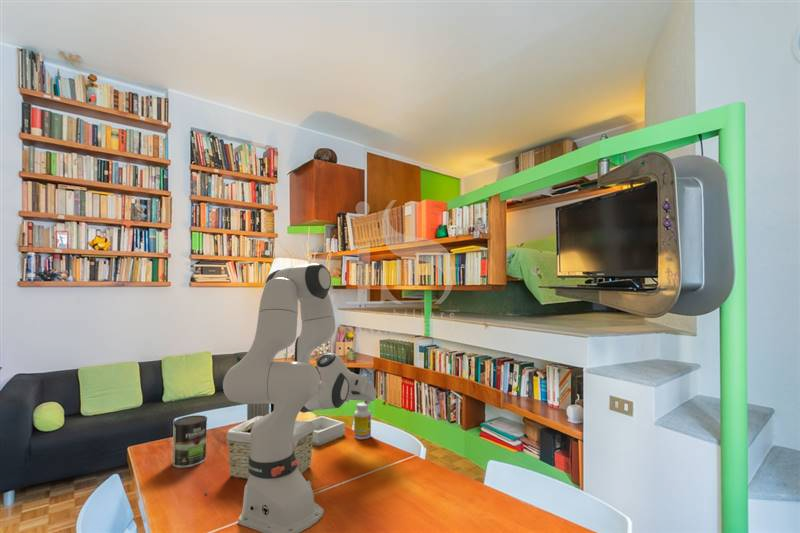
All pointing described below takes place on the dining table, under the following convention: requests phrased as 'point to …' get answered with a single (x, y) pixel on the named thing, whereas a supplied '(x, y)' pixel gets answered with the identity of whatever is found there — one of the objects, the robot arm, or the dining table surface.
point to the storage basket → (242, 445)
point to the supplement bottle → (362, 422)
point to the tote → (326, 430)
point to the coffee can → (189, 441)
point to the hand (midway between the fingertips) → (357, 402)
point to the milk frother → (258, 411)
